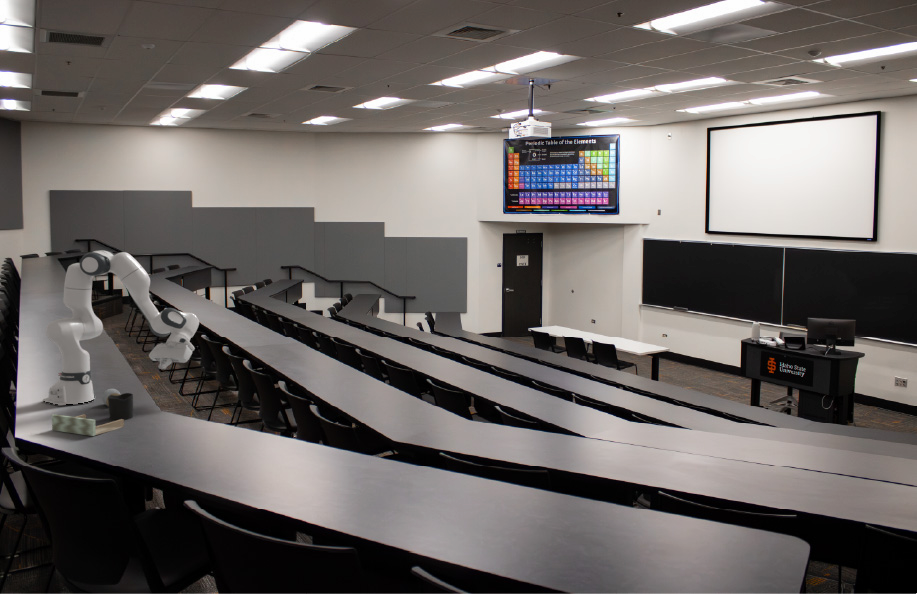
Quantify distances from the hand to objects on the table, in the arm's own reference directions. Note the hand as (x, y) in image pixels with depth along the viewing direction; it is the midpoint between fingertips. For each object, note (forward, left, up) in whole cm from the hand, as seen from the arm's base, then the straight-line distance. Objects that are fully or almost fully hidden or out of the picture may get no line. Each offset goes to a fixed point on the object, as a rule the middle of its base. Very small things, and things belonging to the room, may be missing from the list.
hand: (161, 368), depth 308 cm
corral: (0, -38, -18) cm, 42 cm away
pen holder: (0, -22, -18) cm, 29 cm away
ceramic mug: (-21, -5, -18) cm, 29 cm away
